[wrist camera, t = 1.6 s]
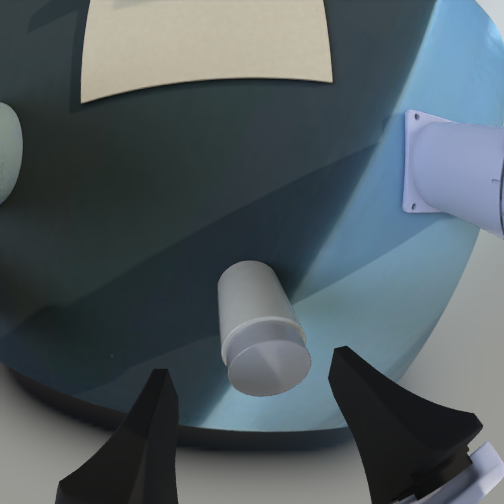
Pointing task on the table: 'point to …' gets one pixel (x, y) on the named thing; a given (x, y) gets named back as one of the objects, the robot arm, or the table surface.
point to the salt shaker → (259, 331)
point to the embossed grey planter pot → (9, 150)
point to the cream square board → (201, 43)
